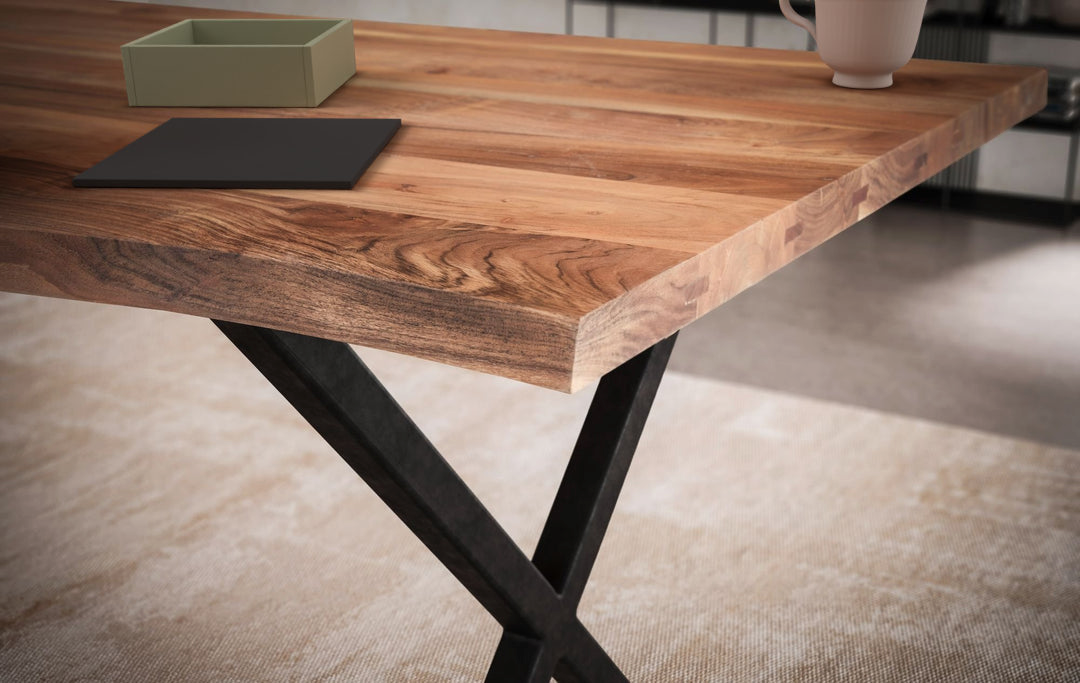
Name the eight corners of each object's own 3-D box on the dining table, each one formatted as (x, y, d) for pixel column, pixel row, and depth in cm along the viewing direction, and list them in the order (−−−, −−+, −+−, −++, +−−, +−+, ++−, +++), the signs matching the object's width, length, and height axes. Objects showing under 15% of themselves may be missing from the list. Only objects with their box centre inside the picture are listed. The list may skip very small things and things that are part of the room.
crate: (128, 106, 108) (119, 46, 106) (193, 72, 124) (186, 19, 122) (316, 107, 107) (310, 46, 105) (356, 72, 123) (352, 18, 121)
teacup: (792, 66, 123) (799, -32, 119) (937, 78, 117) (950, -27, 113) (755, 86, 114) (761, -21, 110) (910, 100, 107) (923, -14, 103)
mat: (72, 186, 82) (71, 178, 82) (173, 124, 101) (172, 117, 101) (351, 189, 81) (350, 181, 81) (401, 125, 100) (401, 118, 99)
